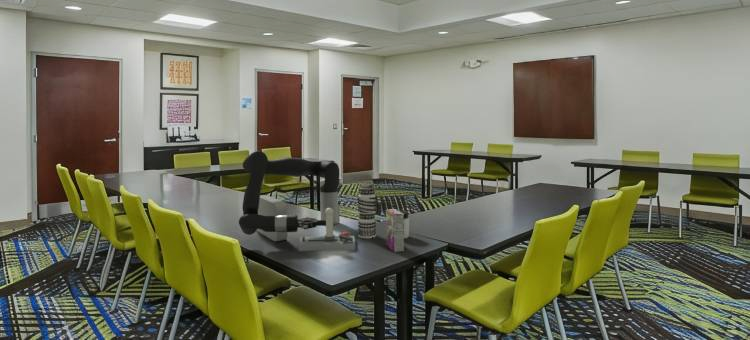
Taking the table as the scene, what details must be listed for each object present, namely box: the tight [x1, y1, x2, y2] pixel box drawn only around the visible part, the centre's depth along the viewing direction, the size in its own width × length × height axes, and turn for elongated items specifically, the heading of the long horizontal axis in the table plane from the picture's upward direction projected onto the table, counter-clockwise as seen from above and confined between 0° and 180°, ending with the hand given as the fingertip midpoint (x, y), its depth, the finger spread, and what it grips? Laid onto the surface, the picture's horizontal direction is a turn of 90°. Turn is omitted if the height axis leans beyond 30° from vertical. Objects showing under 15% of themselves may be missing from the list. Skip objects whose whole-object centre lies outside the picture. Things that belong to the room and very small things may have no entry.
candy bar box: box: [385, 208, 405, 253], centre depth 202 cm, size 11×5×16 cm, turn 17°
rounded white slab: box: [256, 194, 288, 243], centre depth 226 cm, size 29×8×18 cm, turn 34°
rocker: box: [338, 233, 353, 241], centre depth 204 cm, size 6×4×2 cm, turn 95°
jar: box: [397, 209, 410, 240], centre depth 222 cm, size 9×8×12 cm
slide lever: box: [324, 208, 335, 241], centre depth 207 cm, size 4×4×14 cm
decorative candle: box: [357, 183, 377, 239], centre depth 223 cm, size 9×9×25 cm
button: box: [341, 231, 351, 237], centre depth 212 cm, size 4×4×2 cm
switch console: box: [298, 235, 356, 252], centre depth 208 cm, size 24×14×4 cm, turn 94°
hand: (326, 222), depth 207 cm, fingers closed
